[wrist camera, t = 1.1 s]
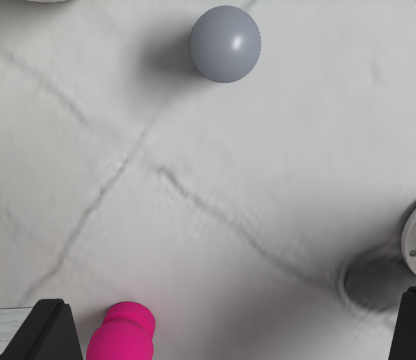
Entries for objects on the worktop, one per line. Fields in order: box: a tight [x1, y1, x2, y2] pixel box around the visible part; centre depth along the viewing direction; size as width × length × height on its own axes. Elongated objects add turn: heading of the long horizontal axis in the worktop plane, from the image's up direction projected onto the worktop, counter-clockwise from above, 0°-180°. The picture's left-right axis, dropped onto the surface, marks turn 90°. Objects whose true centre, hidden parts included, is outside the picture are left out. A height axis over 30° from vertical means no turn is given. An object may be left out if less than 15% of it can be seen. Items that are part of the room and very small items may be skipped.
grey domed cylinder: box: [189, 6, 261, 83], centre depth 26 cm, size 5×5×7 cm
